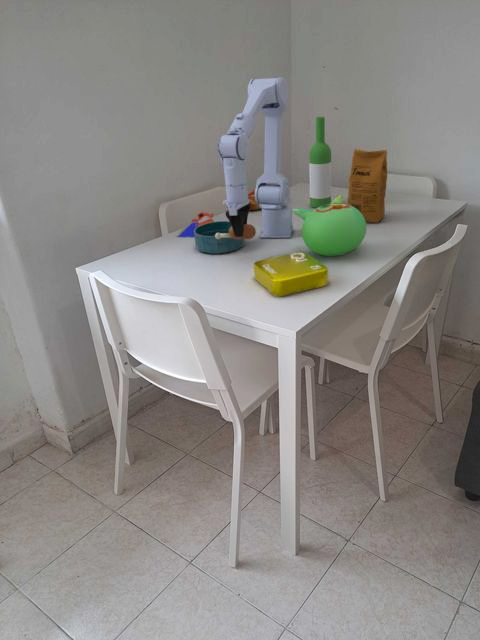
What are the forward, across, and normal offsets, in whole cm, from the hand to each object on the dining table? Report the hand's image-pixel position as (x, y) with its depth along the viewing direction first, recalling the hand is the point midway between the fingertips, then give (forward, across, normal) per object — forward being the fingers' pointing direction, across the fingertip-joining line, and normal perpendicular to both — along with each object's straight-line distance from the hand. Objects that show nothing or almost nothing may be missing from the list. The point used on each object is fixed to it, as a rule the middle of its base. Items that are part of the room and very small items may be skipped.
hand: (240, 233), depth 138 cm
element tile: (+8, +16, +15) cm, 23 cm away
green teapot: (+8, -4, +25) cm, 27 cm away
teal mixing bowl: (+8, -11, -9) cm, 16 cm away
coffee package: (+8, -36, +35) cm, 51 cm away
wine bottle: (+8, -53, +19) cm, 57 cm away
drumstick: (+1, 0, -2) cm, 2 cm away
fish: (+8, -27, -19) cm, 34 cm away
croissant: (+8, -55, -3) cm, 56 cm away
